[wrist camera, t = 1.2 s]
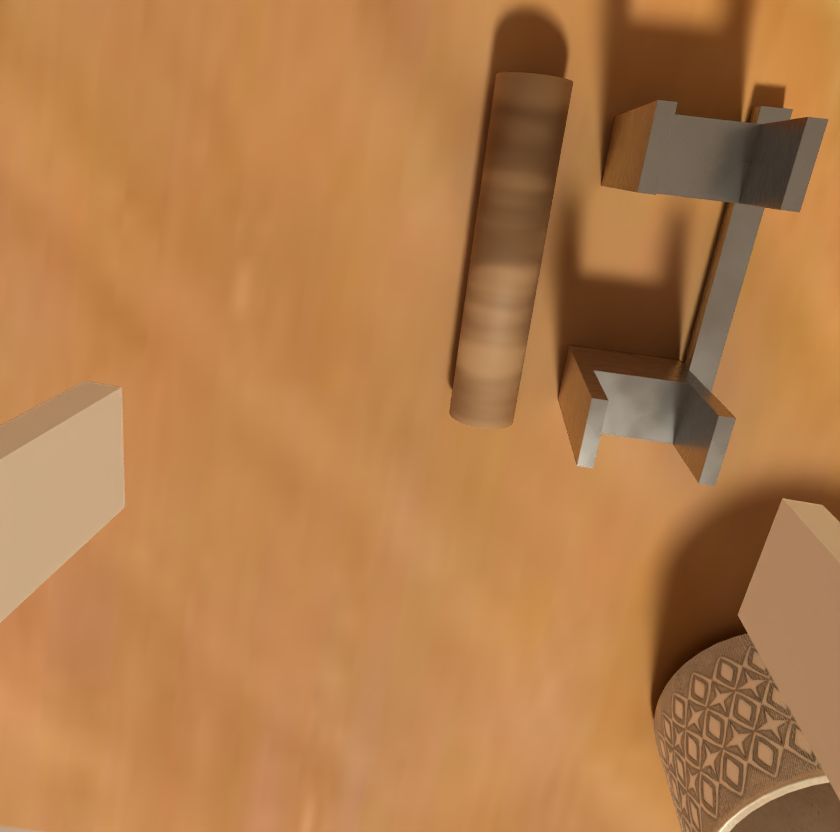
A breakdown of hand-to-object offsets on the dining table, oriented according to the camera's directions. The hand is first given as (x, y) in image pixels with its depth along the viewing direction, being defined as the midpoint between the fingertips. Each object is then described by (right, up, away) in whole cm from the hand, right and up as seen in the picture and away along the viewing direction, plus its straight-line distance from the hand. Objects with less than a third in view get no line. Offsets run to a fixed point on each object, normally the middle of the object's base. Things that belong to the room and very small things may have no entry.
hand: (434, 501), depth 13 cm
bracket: (+13, +10, +26) cm, 30 cm away
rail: (+5, +11, +27) cm, 29 cm away
